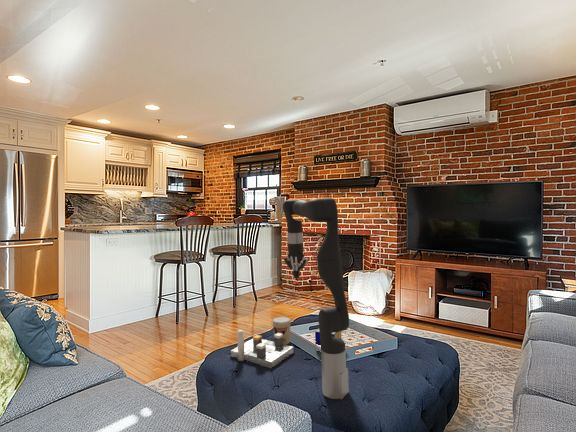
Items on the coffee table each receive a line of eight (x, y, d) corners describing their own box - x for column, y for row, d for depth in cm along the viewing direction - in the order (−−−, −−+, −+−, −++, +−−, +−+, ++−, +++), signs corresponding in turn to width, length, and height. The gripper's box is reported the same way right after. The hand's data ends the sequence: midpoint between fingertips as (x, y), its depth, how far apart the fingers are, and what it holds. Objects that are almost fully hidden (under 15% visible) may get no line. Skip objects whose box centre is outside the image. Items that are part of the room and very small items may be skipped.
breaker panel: (293, 352, 179) (293, 346, 178) (271, 368, 164) (271, 361, 164) (254, 343, 192) (254, 337, 192) (231, 356, 177) (230, 350, 177)
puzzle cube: (315, 351, 179) (314, 331, 179) (323, 343, 188) (322, 324, 187) (334, 355, 175) (334, 334, 174) (342, 347, 183) (341, 327, 183)
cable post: (247, 359, 173) (245, 330, 172) (242, 362, 170) (240, 332, 169) (241, 357, 175) (239, 329, 174) (236, 360, 172) (234, 331, 171)
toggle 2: (266, 355, 169) (265, 344, 169) (262, 358, 167) (261, 346, 167) (260, 353, 171) (260, 342, 171) (256, 356, 169) (256, 345, 168)
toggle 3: (283, 344, 181) (283, 333, 181) (279, 346, 179) (279, 336, 178) (278, 343, 183) (277, 332, 182) (274, 345, 180) (274, 334, 180)
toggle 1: (262, 346, 180) (261, 335, 179) (258, 348, 177) (257, 338, 177) (257, 345, 181) (256, 334, 181) (253, 347, 179) (252, 336, 178)
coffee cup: (270, 344, 189) (269, 321, 188) (277, 337, 198) (276, 315, 197) (288, 346, 186) (287, 323, 185) (293, 339, 195) (292, 317, 194)
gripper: (311, 241, 175) (312, 277, 176) (287, 240, 182) (289, 275, 183) (303, 243, 168) (304, 281, 169) (279, 242, 175) (280, 278, 177)
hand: (296, 277), depth 176 cm, fingers closed
